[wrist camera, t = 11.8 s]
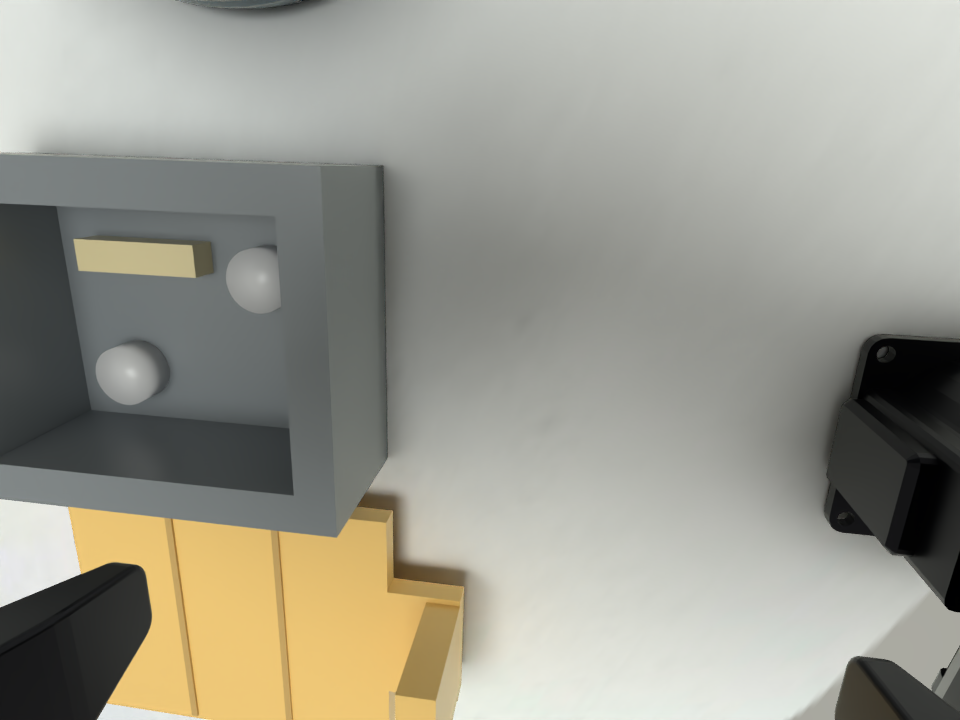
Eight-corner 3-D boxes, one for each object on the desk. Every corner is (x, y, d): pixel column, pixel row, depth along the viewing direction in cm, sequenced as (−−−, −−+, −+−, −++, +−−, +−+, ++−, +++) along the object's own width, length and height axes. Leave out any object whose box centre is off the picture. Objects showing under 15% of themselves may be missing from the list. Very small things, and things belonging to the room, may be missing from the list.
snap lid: (470, 503, 22) (437, 614, 17) (463, 718, 25) (433, 871, 20) (100, 464, 24) (-40, 552, 19) (135, 669, 27) (24, 797, 22)
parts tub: (383, 165, 19) (320, 165, 14) (387, 458, 22) (336, 537, 17) (34, 152, 21) (-127, 149, 16) (83, 428, 24) (-40, 494, 19)
